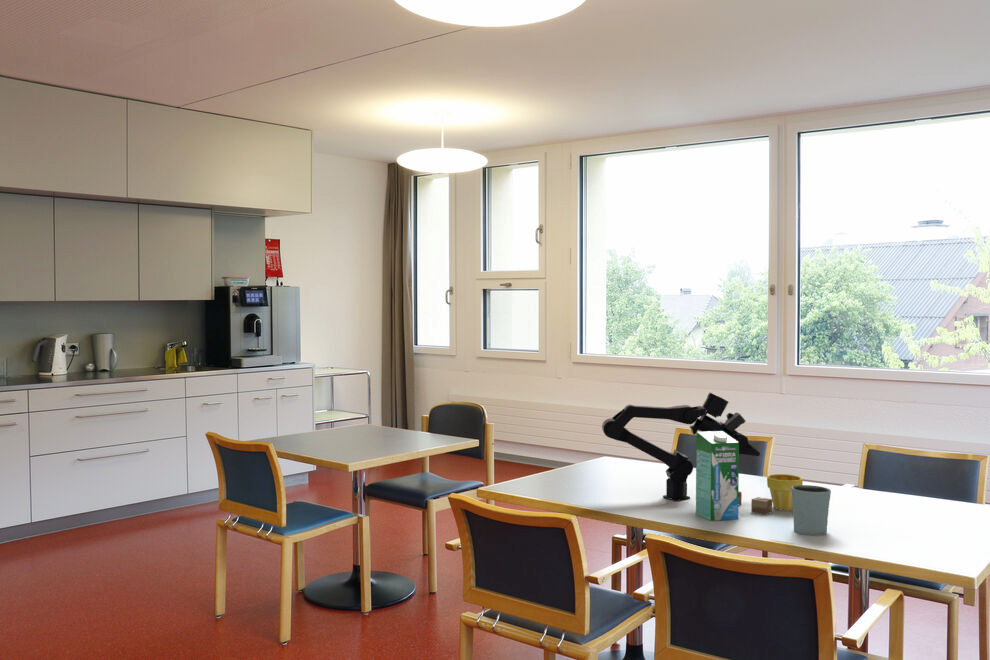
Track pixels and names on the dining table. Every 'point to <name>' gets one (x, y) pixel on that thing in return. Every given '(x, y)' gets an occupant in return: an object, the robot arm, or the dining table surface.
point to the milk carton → (717, 476)
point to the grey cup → (810, 509)
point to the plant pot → (782, 489)
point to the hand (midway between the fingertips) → (755, 452)
